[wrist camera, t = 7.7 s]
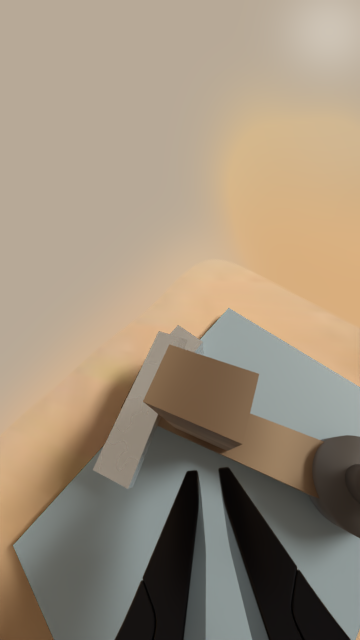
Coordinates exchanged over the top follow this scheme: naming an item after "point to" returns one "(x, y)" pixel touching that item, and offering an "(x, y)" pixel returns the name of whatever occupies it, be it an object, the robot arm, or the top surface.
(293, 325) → the top surface
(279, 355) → the board
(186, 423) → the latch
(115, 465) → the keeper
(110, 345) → the top surface
